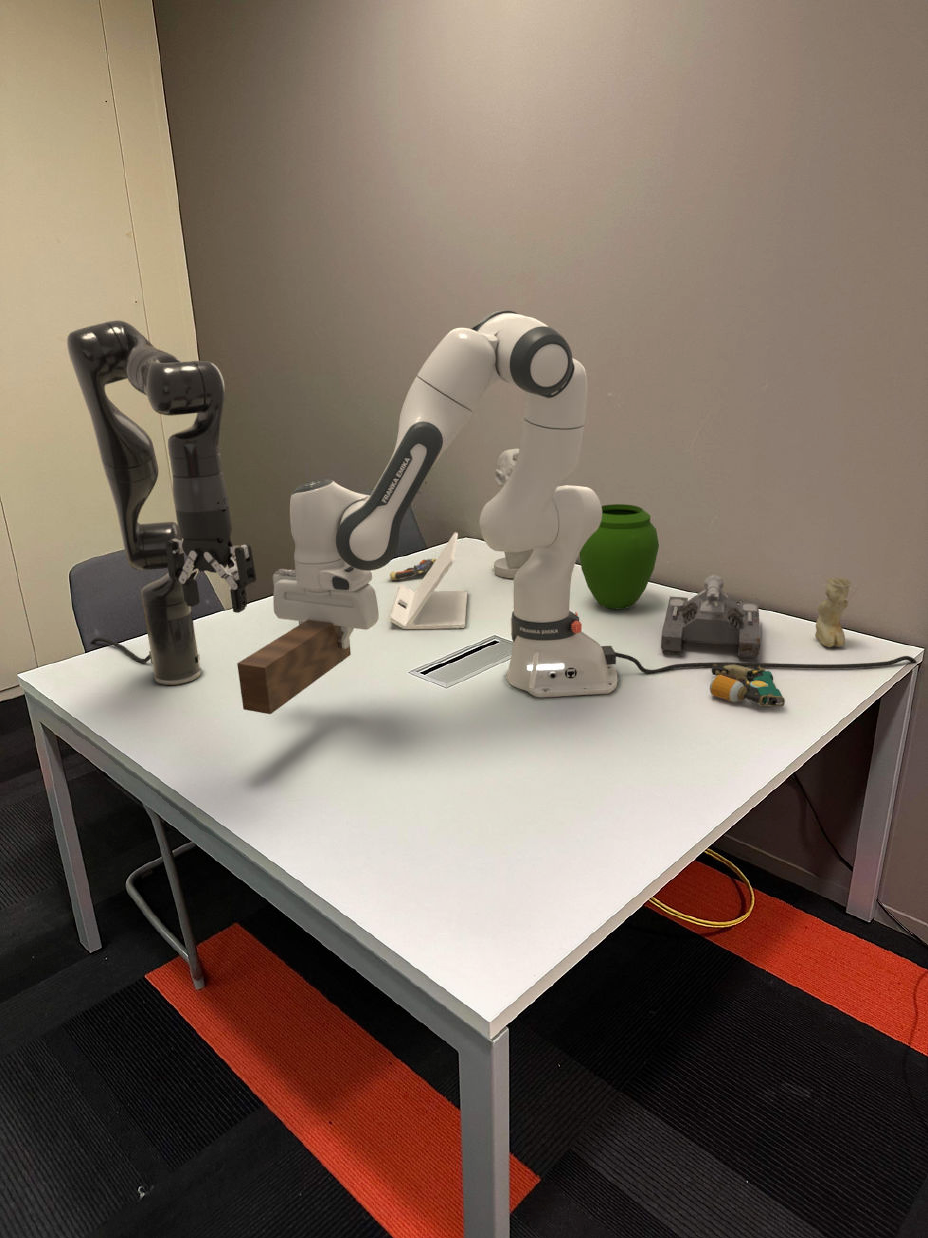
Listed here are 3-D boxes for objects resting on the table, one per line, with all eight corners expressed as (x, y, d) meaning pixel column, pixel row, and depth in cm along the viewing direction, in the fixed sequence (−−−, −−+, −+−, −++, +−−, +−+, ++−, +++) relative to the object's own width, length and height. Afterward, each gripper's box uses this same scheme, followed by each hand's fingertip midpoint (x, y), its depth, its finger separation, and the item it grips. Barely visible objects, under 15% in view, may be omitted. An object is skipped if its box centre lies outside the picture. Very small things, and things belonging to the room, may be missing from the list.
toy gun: (387, 573, 236) (422, 570, 234) (404, 558, 254) (437, 555, 252) (388, 582, 237) (423, 579, 235) (405, 567, 255) (438, 564, 252)
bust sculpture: (503, 593, 225) (502, 460, 212) (483, 567, 247) (480, 445, 234) (562, 587, 228) (563, 456, 215) (536, 562, 250) (536, 441, 237)
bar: (326, 651, 160) (322, 610, 157) (350, 654, 158) (347, 613, 155) (243, 709, 138) (237, 663, 135) (270, 714, 136) (264, 667, 133)
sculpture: (821, 649, 184) (830, 583, 179) (808, 637, 191) (816, 573, 185) (848, 649, 184) (858, 582, 179) (834, 636, 191) (843, 572, 185)
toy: (668, 615, 206) (672, 556, 200) (756, 622, 200) (762, 561, 195) (660, 656, 183) (663, 590, 178) (758, 664, 177) (765, 596, 172)
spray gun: (713, 672, 176) (790, 685, 171) (698, 700, 162) (781, 716, 156) (716, 652, 175) (793, 666, 169) (701, 680, 161) (785, 695, 155)
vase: (599, 587, 227) (601, 497, 218) (668, 600, 216) (673, 505, 208) (562, 608, 212) (564, 513, 204) (634, 623, 202) (639, 523, 193)
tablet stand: (467, 593, 225) (465, 531, 219) (465, 628, 202) (462, 559, 196) (399, 594, 226) (395, 532, 220) (388, 629, 203) (384, 560, 197)
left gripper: (145, 506, 124) (162, 611, 130) (226, 512, 119) (240, 621, 125) (179, 495, 130) (194, 595, 136) (257, 501, 125) (269, 605, 131)
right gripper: (261, 572, 152) (270, 644, 157) (362, 583, 144) (368, 658, 149) (282, 562, 157) (290, 632, 162) (380, 572, 149) (385, 645, 154)
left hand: (216, 608), depth 130 cm, fingers open, 8 cm apart
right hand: (328, 645), depth 155 cm, fingers closed on bar, 5 cm apart
